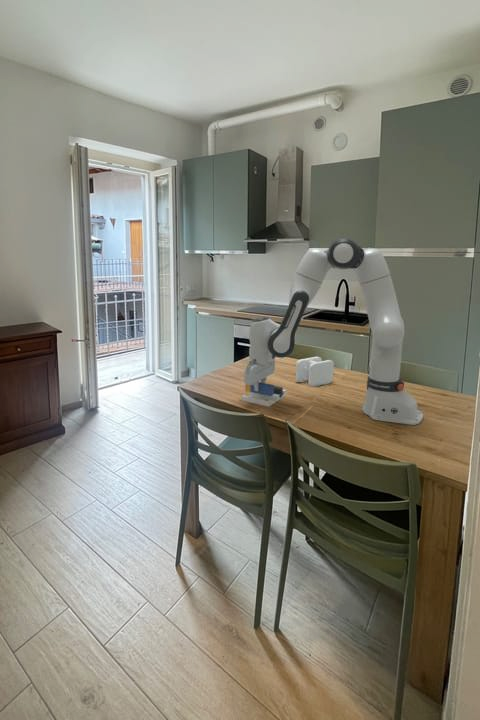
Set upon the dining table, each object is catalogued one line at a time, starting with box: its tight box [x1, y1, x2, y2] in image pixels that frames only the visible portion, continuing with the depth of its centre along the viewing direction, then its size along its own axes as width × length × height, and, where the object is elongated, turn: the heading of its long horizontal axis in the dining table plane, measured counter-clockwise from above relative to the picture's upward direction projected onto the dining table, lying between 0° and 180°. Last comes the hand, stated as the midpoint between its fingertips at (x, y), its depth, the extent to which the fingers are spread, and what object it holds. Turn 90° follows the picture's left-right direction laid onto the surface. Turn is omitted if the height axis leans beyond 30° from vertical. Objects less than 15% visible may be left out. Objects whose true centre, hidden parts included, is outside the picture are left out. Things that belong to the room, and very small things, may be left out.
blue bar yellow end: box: [244, 381, 275, 396], centre depth 169 cm, size 12×3×4 cm, turn 58°
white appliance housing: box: [241, 389, 287, 407], centre depth 173 cm, size 13×16×3 cm
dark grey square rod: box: [274, 385, 284, 398], centre depth 176 cm, size 12×3×4 cm, turn 59°
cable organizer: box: [295, 356, 335, 388], centre depth 194 cm, size 15×11×12 cm
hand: (259, 388), depth 169 cm, fingers closed on blue bar yellow end, 3 cm apart
